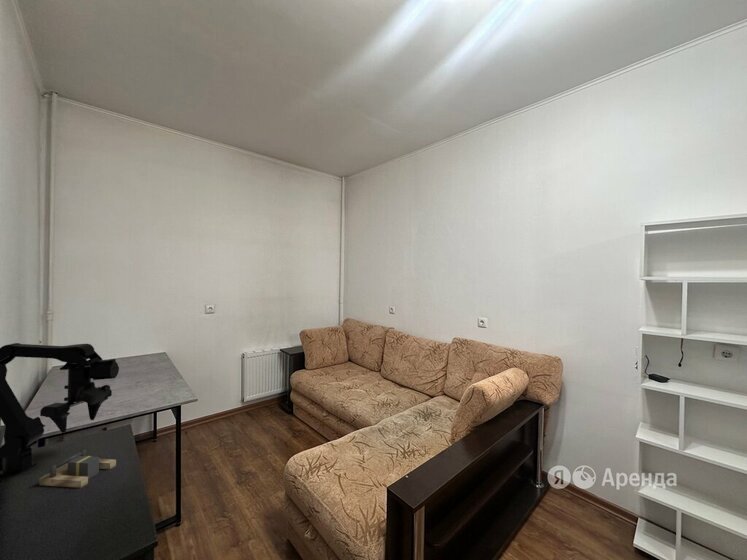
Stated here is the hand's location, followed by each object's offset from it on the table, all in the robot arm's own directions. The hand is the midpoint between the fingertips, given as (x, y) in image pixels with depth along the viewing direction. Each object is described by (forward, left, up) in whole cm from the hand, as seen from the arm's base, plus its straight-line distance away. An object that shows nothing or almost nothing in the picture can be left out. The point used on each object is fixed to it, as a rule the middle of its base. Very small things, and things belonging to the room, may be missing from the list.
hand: (78, 425), depth 103 cm
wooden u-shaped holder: (+9, -7, -12) cm, 17 cm away
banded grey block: (+10, -7, -12) cm, 17 cm away
